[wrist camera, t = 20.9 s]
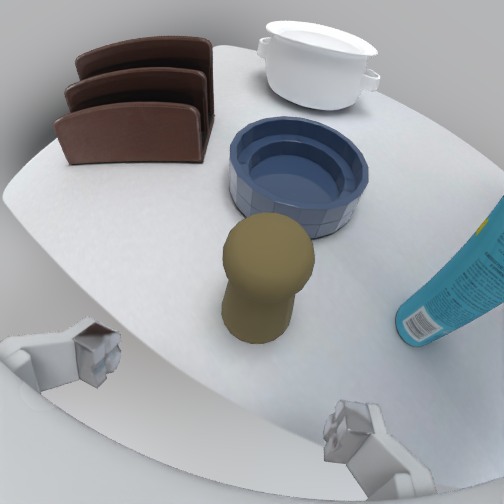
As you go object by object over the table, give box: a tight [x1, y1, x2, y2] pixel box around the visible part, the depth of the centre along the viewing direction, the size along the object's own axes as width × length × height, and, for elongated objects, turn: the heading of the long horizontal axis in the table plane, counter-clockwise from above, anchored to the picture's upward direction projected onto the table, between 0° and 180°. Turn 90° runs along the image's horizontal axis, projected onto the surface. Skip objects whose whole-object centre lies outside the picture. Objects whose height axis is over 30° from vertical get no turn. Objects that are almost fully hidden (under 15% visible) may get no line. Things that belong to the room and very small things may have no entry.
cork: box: [222, 212, 315, 344], centre depth 19 cm, size 6×6×11 cm
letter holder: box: [53, 36, 215, 164], centre depth 29 cm, size 10×20×14 cm, turn 87°
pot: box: [257, 21, 380, 110], centre depth 39 cm, size 22×17×12 cm
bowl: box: [230, 116, 368, 238], centre depth 30 cm, size 14×14×5 cm
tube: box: [396, 196, 504, 347], centre depth 16 cm, size 7×5×19 cm, turn 65°
